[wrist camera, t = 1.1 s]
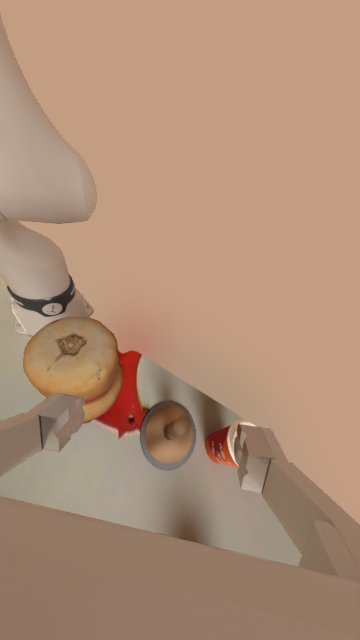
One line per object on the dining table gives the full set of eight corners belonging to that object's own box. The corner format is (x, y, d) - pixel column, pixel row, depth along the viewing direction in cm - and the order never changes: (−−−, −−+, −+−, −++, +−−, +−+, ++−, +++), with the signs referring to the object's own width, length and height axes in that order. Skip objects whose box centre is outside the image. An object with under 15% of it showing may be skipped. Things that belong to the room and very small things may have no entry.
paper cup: (195, 454, 38) (224, 453, 28) (209, 421, 43) (238, 410, 33) (225, 477, 37) (267, 486, 26) (235, 441, 42) (274, 436, 31)
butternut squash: (67, 442, 34) (2, 424, 15) (49, 383, 39) (-16, 315, 20) (132, 401, 41) (143, 356, 22) (110, 356, 46) (103, 289, 27)
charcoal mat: (130, 423, 38) (130, 423, 38) (175, 392, 45) (176, 391, 45) (159, 487, 33) (159, 487, 33) (205, 441, 40) (206, 441, 40)
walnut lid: (136, 424, 38) (140, 416, 30) (175, 397, 44) (187, 384, 36) (161, 477, 34) (174, 485, 26) (200, 439, 40) (221, 435, 32)
